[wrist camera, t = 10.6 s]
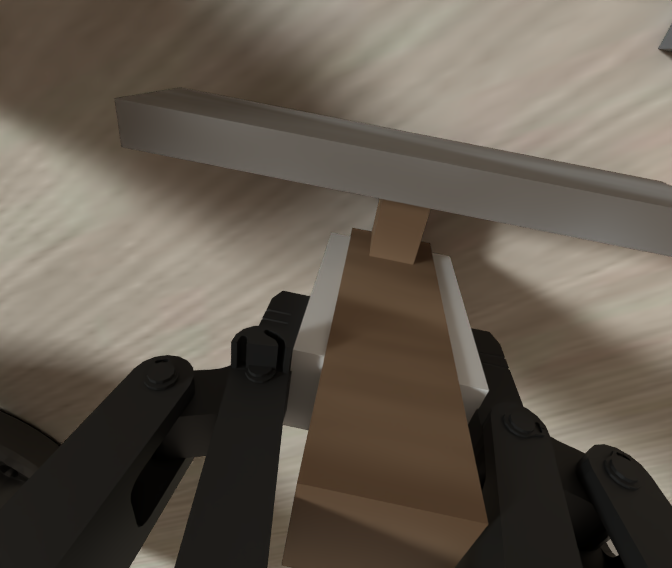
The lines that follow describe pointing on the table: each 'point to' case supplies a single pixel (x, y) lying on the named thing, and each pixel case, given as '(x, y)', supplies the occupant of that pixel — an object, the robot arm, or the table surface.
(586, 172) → the scraper
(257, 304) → the table surface
